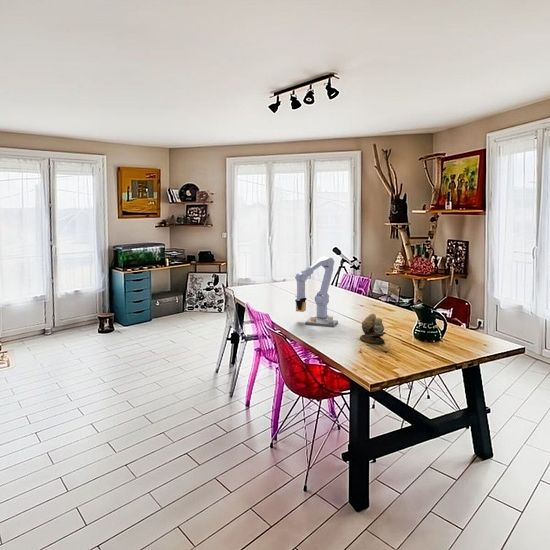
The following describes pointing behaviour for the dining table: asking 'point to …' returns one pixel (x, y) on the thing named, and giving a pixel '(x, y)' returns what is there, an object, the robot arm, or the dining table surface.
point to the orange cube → (302, 307)
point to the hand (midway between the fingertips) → (300, 308)
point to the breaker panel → (321, 322)
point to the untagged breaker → (330, 319)
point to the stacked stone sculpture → (372, 330)
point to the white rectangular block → (313, 318)
